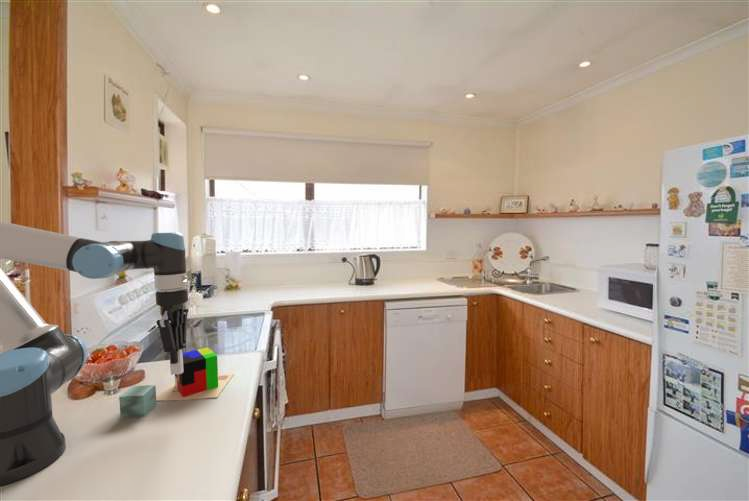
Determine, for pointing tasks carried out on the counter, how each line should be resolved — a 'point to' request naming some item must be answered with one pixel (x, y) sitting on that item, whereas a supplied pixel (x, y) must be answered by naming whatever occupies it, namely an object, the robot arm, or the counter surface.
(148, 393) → the teal block
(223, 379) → the letter card
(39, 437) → the robot arm
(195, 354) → the puzzle toy
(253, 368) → the counter surface
